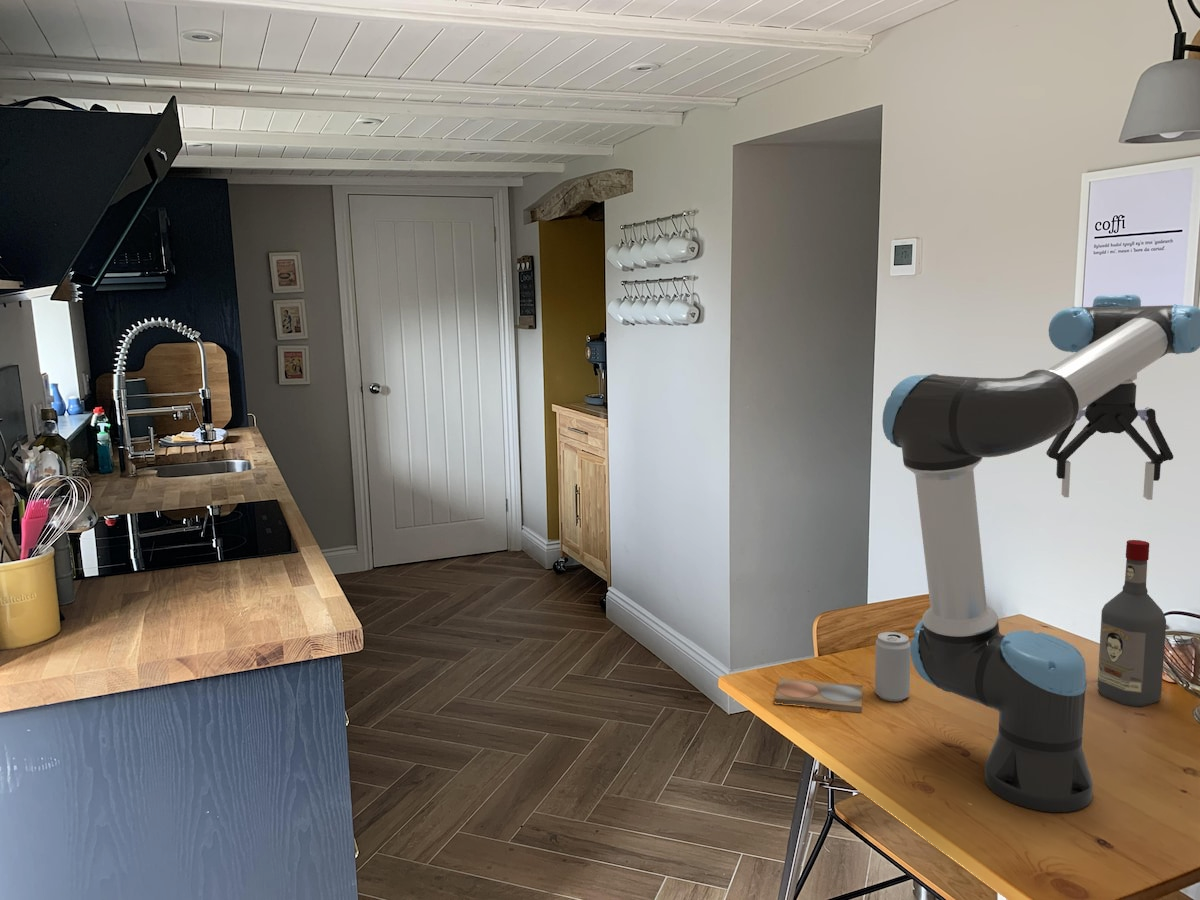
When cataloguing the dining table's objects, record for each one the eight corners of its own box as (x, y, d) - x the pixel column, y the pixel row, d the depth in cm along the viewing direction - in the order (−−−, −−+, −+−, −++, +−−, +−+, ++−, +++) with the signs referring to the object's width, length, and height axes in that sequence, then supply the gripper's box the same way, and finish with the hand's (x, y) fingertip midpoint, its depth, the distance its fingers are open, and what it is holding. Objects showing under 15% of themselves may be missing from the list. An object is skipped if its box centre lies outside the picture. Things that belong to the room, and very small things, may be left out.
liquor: (1123, 682, 179) (1132, 534, 175) (1167, 700, 171) (1178, 544, 166) (1090, 691, 176) (1098, 539, 171) (1133, 709, 167) (1143, 551, 163)
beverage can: (912, 693, 177) (914, 634, 175) (904, 705, 172) (906, 644, 170) (879, 686, 181) (881, 628, 179) (870, 698, 175) (871, 639, 173)
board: (861, 712, 169) (861, 706, 169) (774, 704, 174) (774, 697, 174) (862, 691, 179) (862, 684, 178) (779, 683, 183) (779, 677, 183)
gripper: (1184, 379, 164) (1176, 494, 167) (1033, 380, 171) (1028, 491, 175) (1198, 382, 157) (1190, 503, 160) (1040, 383, 164) (1035, 498, 167)
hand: (1105, 497), depth 167 cm, fingers open, 13 cm apart
